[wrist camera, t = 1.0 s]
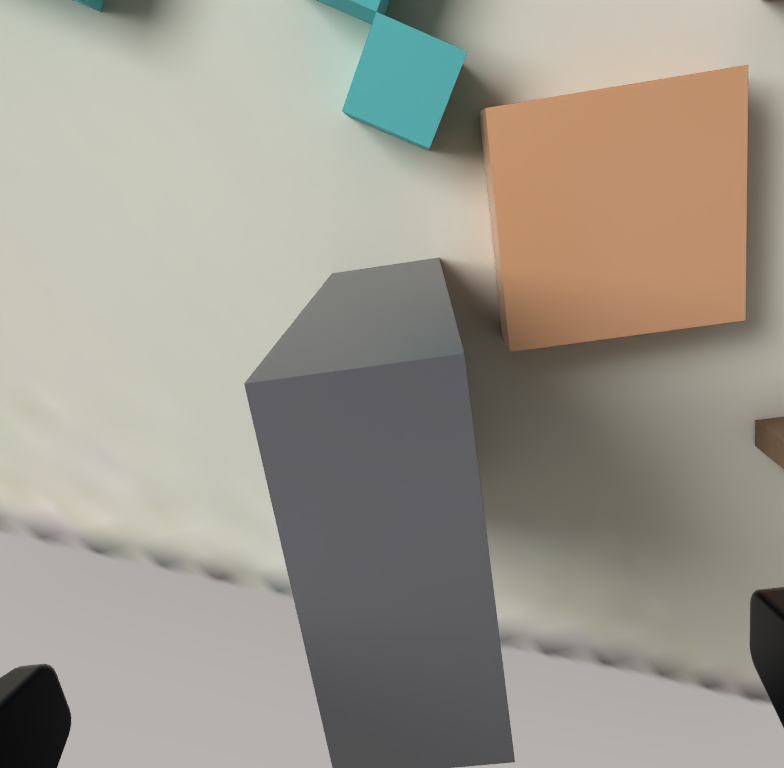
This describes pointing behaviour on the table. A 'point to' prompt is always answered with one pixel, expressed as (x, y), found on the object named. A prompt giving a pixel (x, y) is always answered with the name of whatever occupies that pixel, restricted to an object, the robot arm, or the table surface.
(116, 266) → the table surface
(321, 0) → the alien figure
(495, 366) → the table surface
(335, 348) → the grey matte slab
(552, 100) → the terracotta tile
